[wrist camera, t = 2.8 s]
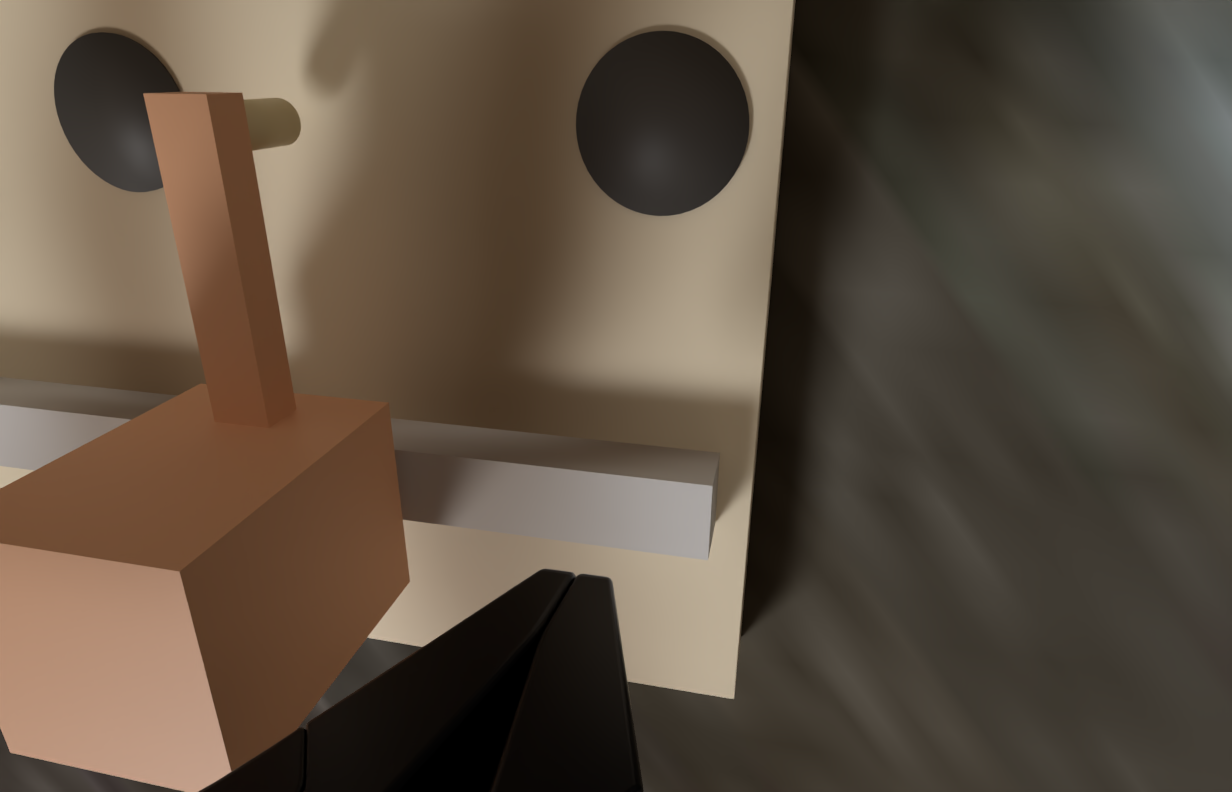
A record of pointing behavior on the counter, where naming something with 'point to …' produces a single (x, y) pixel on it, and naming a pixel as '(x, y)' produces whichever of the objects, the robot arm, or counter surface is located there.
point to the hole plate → (439, 271)
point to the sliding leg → (200, 515)
